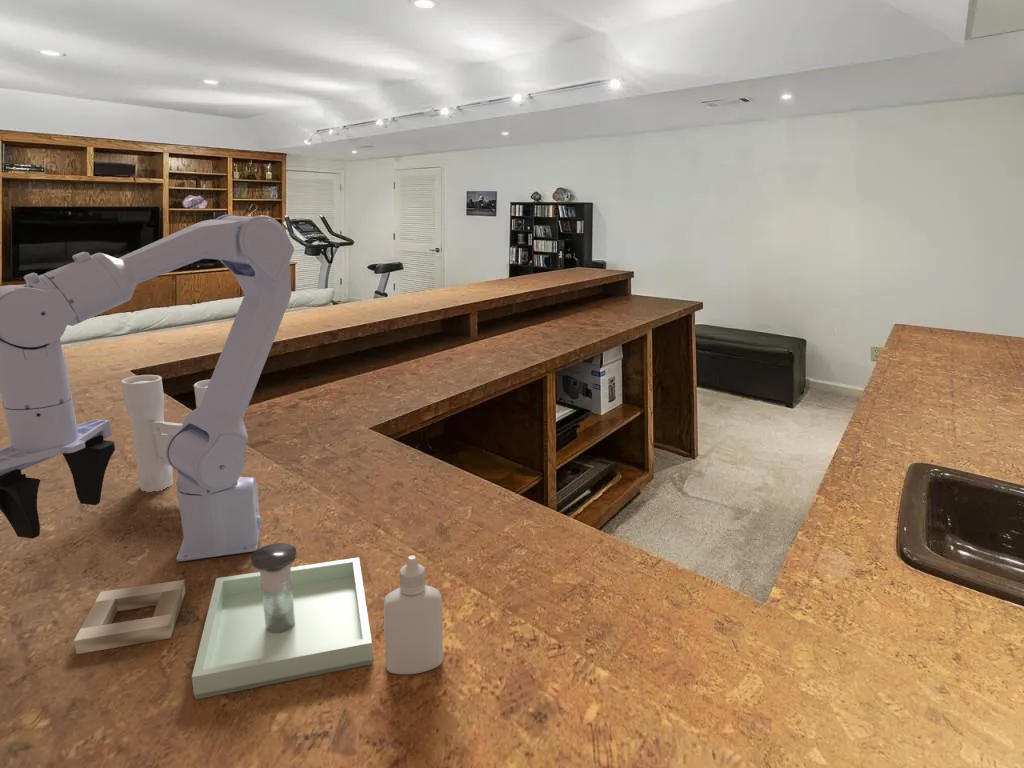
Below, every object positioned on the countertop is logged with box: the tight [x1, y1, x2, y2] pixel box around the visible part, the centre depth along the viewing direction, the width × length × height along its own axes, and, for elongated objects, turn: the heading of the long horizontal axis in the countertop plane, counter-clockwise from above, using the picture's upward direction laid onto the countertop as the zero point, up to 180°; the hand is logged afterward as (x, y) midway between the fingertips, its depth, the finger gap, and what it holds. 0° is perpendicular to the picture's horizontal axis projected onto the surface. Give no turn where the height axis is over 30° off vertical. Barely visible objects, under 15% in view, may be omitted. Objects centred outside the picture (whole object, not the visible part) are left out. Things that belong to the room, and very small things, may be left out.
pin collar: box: [73, 579, 186, 655], centre depth 65 cm, size 8×8×2 cm
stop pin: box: [250, 542, 298, 633], centre depth 63 cm, size 4×4×8 cm
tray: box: [191, 557, 374, 701], centre depth 64 cm, size 16×16×2 cm
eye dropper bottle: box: [383, 555, 444, 675], centre depth 58 cm, size 4×6×12 cm
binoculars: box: [120, 374, 211, 493], centre depth 94 cm, size 17×5×18 cm, turn 84°
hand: (61, 518), depth 66 cm, fingers open, 7 cm apart
